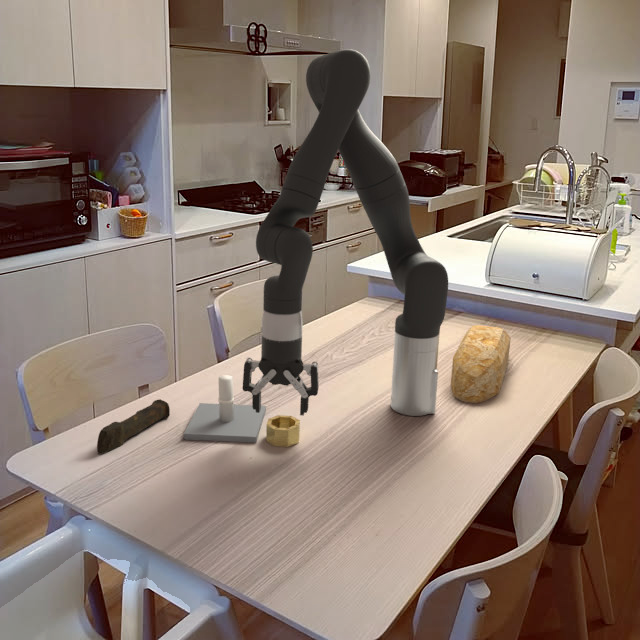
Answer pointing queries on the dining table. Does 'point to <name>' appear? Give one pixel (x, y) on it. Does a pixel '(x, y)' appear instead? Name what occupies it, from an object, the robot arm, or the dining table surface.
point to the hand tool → (131, 426)
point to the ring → (283, 430)
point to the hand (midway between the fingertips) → (280, 412)
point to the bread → (480, 364)
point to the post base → (225, 430)
